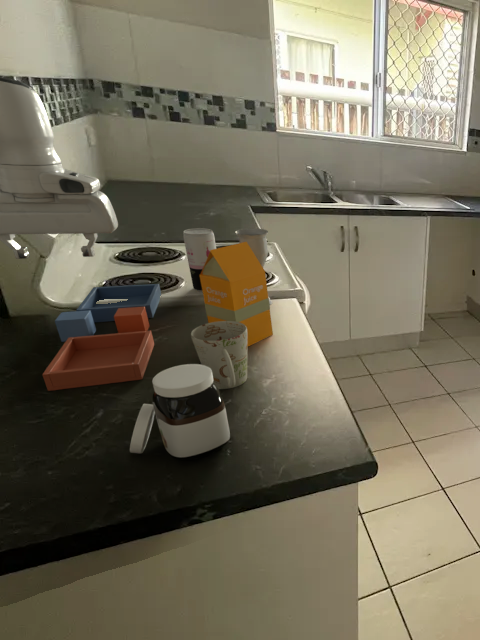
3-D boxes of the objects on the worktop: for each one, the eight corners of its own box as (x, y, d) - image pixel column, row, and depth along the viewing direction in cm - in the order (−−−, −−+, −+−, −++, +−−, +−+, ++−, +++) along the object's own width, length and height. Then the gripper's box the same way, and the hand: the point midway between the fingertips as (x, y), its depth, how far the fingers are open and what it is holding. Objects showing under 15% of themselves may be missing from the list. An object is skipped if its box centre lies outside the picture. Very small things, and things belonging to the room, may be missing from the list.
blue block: (61, 342, 92) (54, 320, 90) (68, 332, 96) (61, 312, 94) (90, 339, 94) (84, 318, 92) (96, 330, 98) (90, 310, 96)
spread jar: (240, 450, 69) (228, 381, 64) (147, 487, 61) (125, 411, 56) (209, 414, 76) (196, 349, 71) (122, 443, 68) (101, 372, 63)
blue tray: (80, 323, 100) (75, 310, 98) (96, 299, 111) (93, 287, 110) (153, 318, 105) (149, 305, 104) (161, 295, 117) (159, 283, 116)
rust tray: (48, 391, 77) (42, 374, 76) (73, 352, 89) (68, 337, 88) (142, 379, 83) (138, 363, 82) (154, 344, 95) (151, 330, 93)
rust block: (119, 336, 96) (113, 316, 94) (123, 328, 100) (118, 308, 98) (146, 334, 98) (141, 314, 96) (149, 325, 102) (144, 306, 100)
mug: (247, 365, 91) (240, 317, 86) (266, 395, 82) (259, 344, 78) (197, 376, 86) (186, 326, 81) (211, 409, 77) (200, 355, 73)
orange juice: (211, 341, 98) (193, 247, 89) (245, 327, 105) (232, 238, 97) (241, 350, 96) (225, 254, 87) (274, 334, 103) (262, 244, 95)
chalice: (247, 298, 120) (237, 227, 113) (277, 297, 122) (269, 228, 115) (244, 309, 114) (233, 235, 106) (275, 308, 116) (266, 235, 109)
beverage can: (219, 282, 128) (210, 227, 122) (225, 290, 124) (216, 233, 118) (191, 286, 124) (180, 229, 118) (196, 293, 120) (184, 235, 114)
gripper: (-61, 180, 75) (-28, 264, 81) (101, 184, 84) (120, 259, 90) (-42, 175, 80) (-13, 254, 86) (109, 179, 89) (127, 250, 95)
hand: (57, 257), depth 88 cm, fingers open, 8 cm apart
